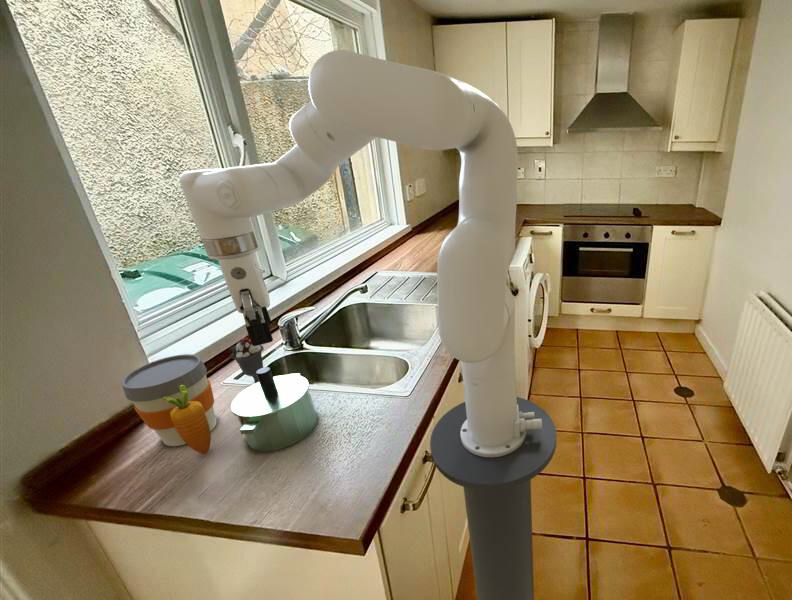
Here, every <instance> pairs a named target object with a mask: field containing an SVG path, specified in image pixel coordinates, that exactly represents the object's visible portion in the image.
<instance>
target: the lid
mask: <svg viewBox="0 0 792 600" xmlns="http://www.w3.org/2000/svg"><path fill="white" fill-rule="evenodd" d="M256 374H257V377H258V380H259V382H257V383H255V382H254V383H253V384H252V385H250V386H248V387H246V388H245V389H242V391H240V392H239V393H238V394H237V395H236V396H235V397H234V398H233V400H232V401H231V404H230V410H231V413H232V414H233V415H234V416H235V417H237V416H238V417H241V418H259V417H265V416H269V415H272V414H275V413H278V412H280V411H283V410H285V409H287V408H289V407H291V406H292V405H294V404H295V403H297V402H298V401H299V400H301V399H302V398H303V397H304V396H305V395H306V393H307V392H308V389H309V390H310V383H309V380H308V379H307V378H306V377H304V376H302V375H301V376H299V375H289V374H283V375H282V374H281V375H275V376H273V373H272V370H271V368H270V367H269V366H263V368H261V369H259V370H257V371H256ZM238 417H237V418H238Z"/></svg>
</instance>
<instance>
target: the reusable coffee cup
mask: <svg viewBox="0 0 792 600" xmlns="http://www.w3.org/2000/svg"><path fill="white" fill-rule="evenodd" d="M207 373H208V369H207V367H206V366H205V363H204V362H203V360H202V359H201V357H200V356H199V355H197V354H191V353H185V354H177V355H171V356H167V357H163V358H159V359H156V360H154V361H151V362H148V363H145V364H143V365H141V366H139V367H137V368H135V369H133V370H132V371H131V372H129V373H128V374H127V375H125V376H123V379H121V386H122V389H123V392H124V395H125V398H126V399H127V400H128V401H130V402H132V404H133V405H134V411H135V412H136V413H137V415H138V416H139V417H140V419H141V420H142V421H143V422H144V424H145V425H146V426H147V427H148V428H149V429H151V430H153V431H154V432H155V433H156V435H157V436H158V437H159V438H160V439H161V441H162V442H163V443H164V445H166V446H168V447H179V446H183V445H187V444H186V443H185V442H184V440H183V439H182V438H181V437H180V435H179V433H178V432H177V430H176V428H175V426H174V424H173V423H172V420H171V416H170V412H171V411H172V410H173V409H174V408H175V407H177V406H175V405H173V404H172V403H169V402H167V400H164V399H163V398H164V397H170V398H173V399H175V400H176V398H179V399H180V400H181V392H180V388H179V386H180V385H185V386H186V389H187V392H188V401H198V402H200V403H201V404H202V407H203V409H204V412H205V415H206V418H207V421H208V424H209V428H210V432H211V431H212V430H214V428H215V427H216V426H217V418H216V413H215V409H214V403H215V398H214V393H213V389H212V385H211V381H210V379H209V378H208V377H207ZM176 401H177V400H176Z"/></svg>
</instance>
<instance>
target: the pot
mask: <svg viewBox="0 0 792 600" xmlns="http://www.w3.org/2000/svg"><path fill="white" fill-rule="evenodd" d="M288 375H299V376H302V375H301V373H299V372H298V373H289V374H288ZM236 417H237V420H238V422H239V424H240V427H241V428H239V432H240V434H241V435H244V438H245V439H246V442H247V443H248V445H249V447H250V448H251V449H253V450H254V451H256V452H263V453H264V452H265V453H268V452H275V451H280V450H284V449H285V448H289V447H291V446H293V445H295V444H297V443H298V442H300V441H302V440H304V438H306V437H307V436H308V435H309V434H310V433H311V432H312V431H314V429H315V427H316V424H317V421H318V420H317V412H316V409H315V406H314V403H313V400H312V395H311V393H310V388H309V389H308V392H307V393H306V395H305V396H304V397H303V398H302V399H301V400H299V401H298V402H297V403H295V404H294V405H292V406H291V407H289V408H287V409H285V410H283V411H280V412H278V413H275V414H272V415H269V416H265V417H259V418H241V417H238V416H236Z"/></svg>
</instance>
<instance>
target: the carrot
mask: <svg viewBox="0 0 792 600" xmlns="http://www.w3.org/2000/svg"><path fill="white" fill-rule="evenodd" d="M179 388H180V392H181V400H180V399H179V398H176V400H177V401H176V400H175V399H173V398H170V397H164V398H163V399H164V400H167V402H169V403H172V404H173V405H175V406H177V407H175V408H174V409H173V410H172V411H171V412H170V416H171V420H172V423H173V424H174V426H175V428H176V430H177V432H178V433H179V435H180V437H181V438H182V439H183V440H184V442H185V443H186V444H185V445H187V447H189V448H190V449H192V450H193V451H195V452H197V453H199V454H201V455H207V454H208V452H209V451H210V447H211V442H212V436H211V435H212V434H211V431H210V428H209V424H208V421H207V418H206V415H205V412H204V409H203V407H202V404H201V403H200V402H198V401H188V392H187V389H186V386H185V385H180V386H179Z"/></svg>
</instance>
